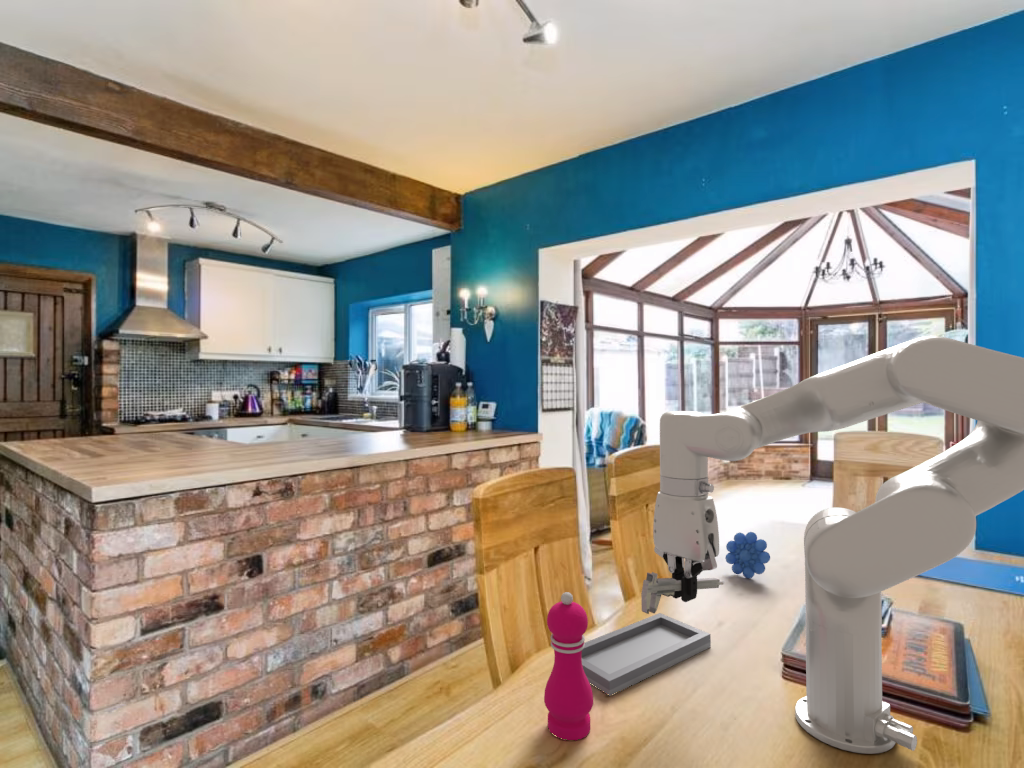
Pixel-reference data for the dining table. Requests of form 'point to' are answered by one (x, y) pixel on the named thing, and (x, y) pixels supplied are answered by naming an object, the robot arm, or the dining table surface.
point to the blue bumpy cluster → (747, 554)
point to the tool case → (640, 651)
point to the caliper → (667, 589)
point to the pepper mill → (568, 672)
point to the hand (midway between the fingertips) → (684, 597)
